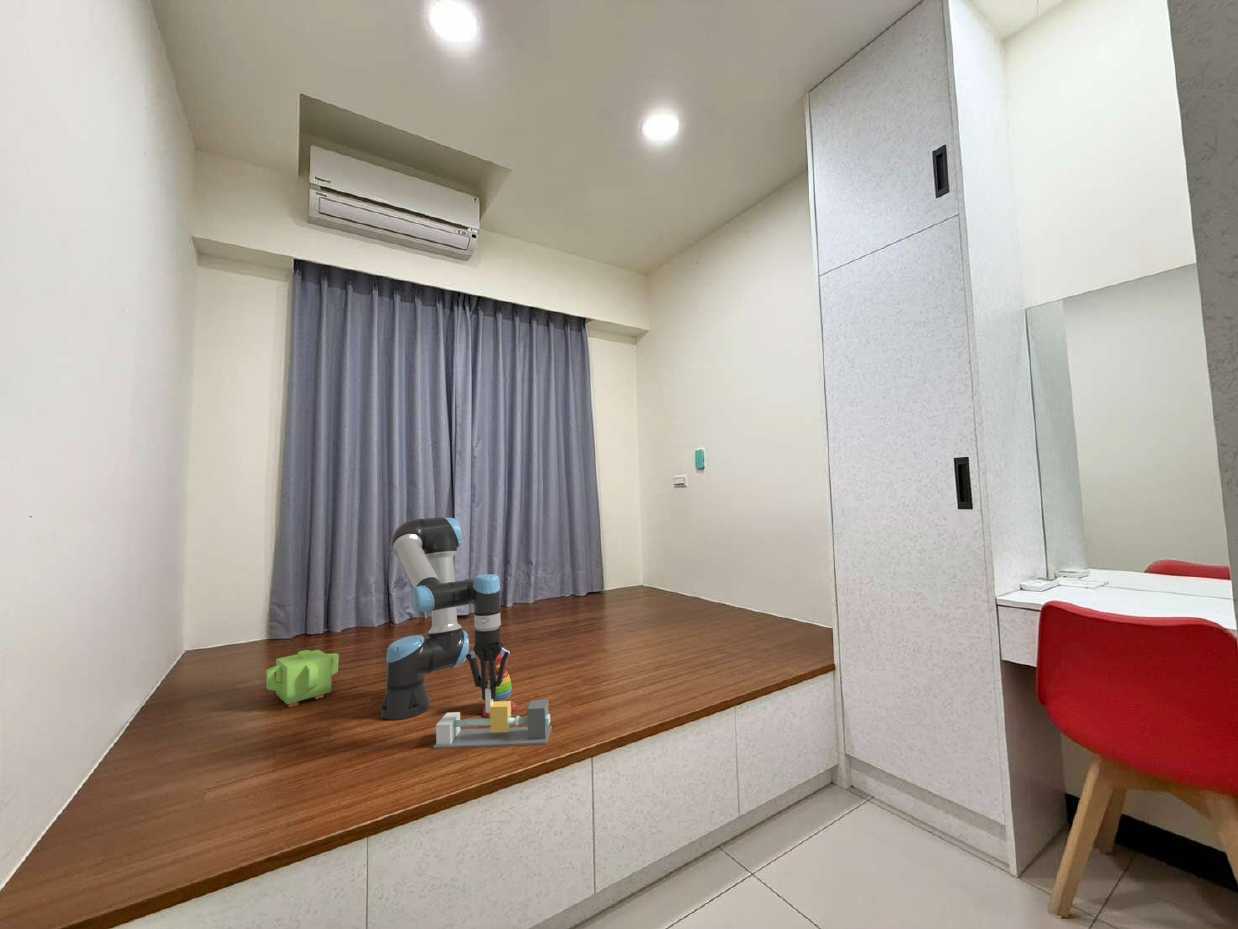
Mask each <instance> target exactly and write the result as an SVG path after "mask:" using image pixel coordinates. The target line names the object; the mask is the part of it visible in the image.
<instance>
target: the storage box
mask: <svg viewBox="0 0 1238 929" xmlns="http://www.w3.org/2000/svg"><path fill="white" fill-rule="evenodd" d="M339 658H340V656H339V653H335V652H334V653H325V652H323V651H322V650H320V649H315V650H310V649H303V650H300V651H298V652H297V654H291V655H287V656H283V657H279V658H276V660H275V665H274V666H272V667H269V668H267V669H265V683H266V684H265V687H266V689H267V690H268V691H275V695H276V696H277V697H278V698H279V699H280V700H281V701H282V700H283V701H284V702H283V703H284V704H286V705H288V704H291V703H296V702H298V701H299V702H300V701H305V700H308V699H312V698H314V697H315V696H320V695H323V694H324V695H326V694H329V693H332V690H333V689H332V687H333V686H332V685H333V684H332V683H333V682H332V681H333V680H332V677H333V676H334V675H335V674H337V673H338V672H339Z"/></svg>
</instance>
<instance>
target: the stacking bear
mask: <svg viewBox="0 0 1238 929" xmlns="http://www.w3.org/2000/svg"><path fill="white" fill-rule="evenodd" d="M501 659H502V657H501V653H499V655H498V656H497V658H496V681H497V677H498V672H499V668H500V663H501ZM487 666H488V683H489V684H488V685H487V686H490V665H489V661H488V662H487ZM507 668H508V660H507V661H506V666H505V671H504V676H503V681H502V683H501V684H500V686H497V687H496V698H495V699H493V702H494V701H511V713H513V712H515V711H516V710H517V704H516V703H515V702H514V701H513V700H511V697H512V689H513V688H512V686H513V684H512V680H511V677H510V674H509V671H508V670H507ZM482 715H483V717H485V718H490V712H489V713H486V706H485V704H484V705H483V707H482Z"/></svg>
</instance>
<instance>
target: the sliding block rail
mask: <svg viewBox="0 0 1238 929" xmlns="http://www.w3.org/2000/svg"><path fill="white" fill-rule="evenodd" d="M526 709H527V716H522V717H521V716H520V715H516V716H515V717H511V718H508V725H511V726H512V725H515V726H512V727H510V729H509V731H508V732H491V725H490V718H471V719H470V718H469V719H461V712H460V711H457V712H455V711H454V712H445V714H444V716H442V717H441V719H440V720H439V721H438V722H437V723H436V724H435V730H436V732H435V735H436V736H435V738H436V742H435V744H434V745H433V747H432V748H433V750H435V749H437V750H438V749H462V748H464V749H465V748H466V749H467V748H486V747H487V748H491V747H493V748H494V747H512V746H513V747H515V746H517V747H518V746H539V745H540V746H542V745H544V746H546V745H547V742H548V741H549V737H550V735H551V732H552V728H553V726H552V725H550V724H551V714H550V713H549V699H535V700H534V699H533V700H531V701H530V702H529V705H528V706H527V708H526ZM521 725H527V726H521ZM486 726H490V727H487V728H485V727H486ZM462 727H463V728H462ZM464 727H482V728H464ZM483 727H484V728H483Z"/></svg>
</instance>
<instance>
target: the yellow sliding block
mask: <svg viewBox="0 0 1238 929" xmlns="http://www.w3.org/2000/svg"><path fill="white" fill-rule="evenodd" d="M508 718H512V712H511V701H494V702H493V704H492V705H491V707H490V717H489V719H490V725H491V726H490V728H491V732H508V731H509V729H510V727H511V726H512V725H508Z"/></svg>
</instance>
